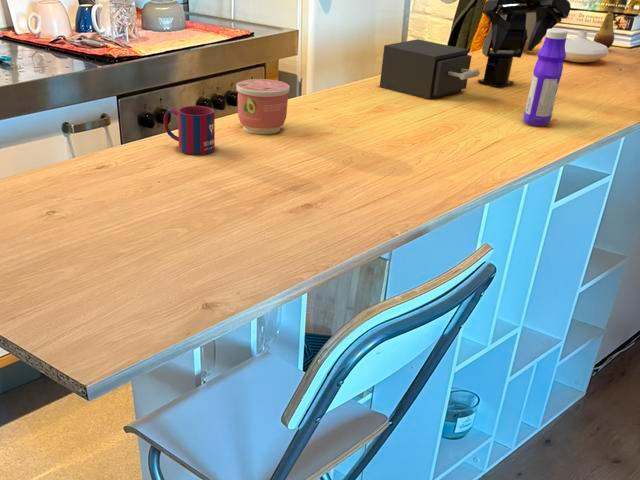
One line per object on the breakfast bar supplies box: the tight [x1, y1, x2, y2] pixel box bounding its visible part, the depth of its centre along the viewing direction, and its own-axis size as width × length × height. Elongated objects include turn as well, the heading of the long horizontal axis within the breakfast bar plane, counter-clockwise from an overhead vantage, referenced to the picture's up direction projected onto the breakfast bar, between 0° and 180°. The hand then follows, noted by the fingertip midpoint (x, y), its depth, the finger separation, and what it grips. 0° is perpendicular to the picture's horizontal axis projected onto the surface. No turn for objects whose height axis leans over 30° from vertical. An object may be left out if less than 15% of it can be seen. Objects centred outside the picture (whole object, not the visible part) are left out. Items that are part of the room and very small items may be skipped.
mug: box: [163, 105, 216, 156], centre depth 151 cm, size 7×10×7 cm
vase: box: [563, 29, 610, 63], centre depth 223 cm, size 16×16×7 cm
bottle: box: [523, 27, 569, 127], centre depth 168 cm, size 7×6×17 cm
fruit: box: [593, 3, 617, 49], centre depth 234 cm, size 6×6×12 cm
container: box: [235, 78, 291, 135], centre depth 162 cm, size 10×10×8 cm
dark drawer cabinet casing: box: [379, 38, 469, 100], centre depth 191 cm, size 15×13×9 cm
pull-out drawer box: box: [433, 54, 480, 96], centre depth 189 cm, size 18×12×7 cm, turn 44°
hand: (511, 51), depth 174 cm, fingers open, 9 cm apart
